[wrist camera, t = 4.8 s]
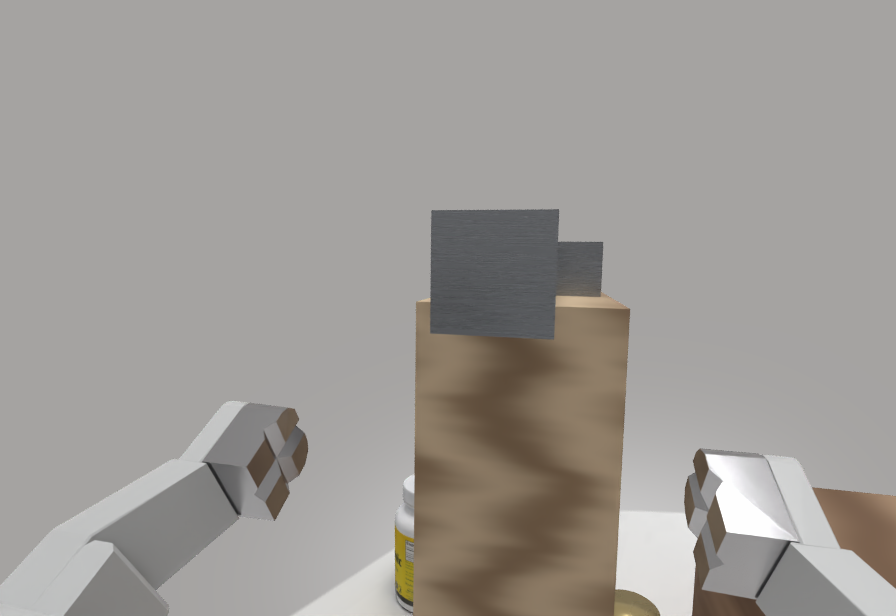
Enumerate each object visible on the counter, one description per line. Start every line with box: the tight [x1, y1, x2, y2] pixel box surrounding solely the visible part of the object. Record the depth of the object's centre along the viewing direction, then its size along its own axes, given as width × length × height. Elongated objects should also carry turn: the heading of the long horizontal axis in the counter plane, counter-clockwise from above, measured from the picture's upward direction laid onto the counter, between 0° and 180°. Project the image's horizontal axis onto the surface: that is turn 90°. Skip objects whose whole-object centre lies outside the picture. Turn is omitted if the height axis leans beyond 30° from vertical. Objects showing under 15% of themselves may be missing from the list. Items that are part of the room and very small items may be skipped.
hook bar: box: [430, 209, 603, 340], centre depth 21 cm, size 21×8×3 cm, turn 167°
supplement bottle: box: [395, 474, 415, 612], centre depth 39 cm, size 5×5×10 cm
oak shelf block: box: [413, 292, 630, 616], centre depth 28 cm, size 9×13×26 cm
